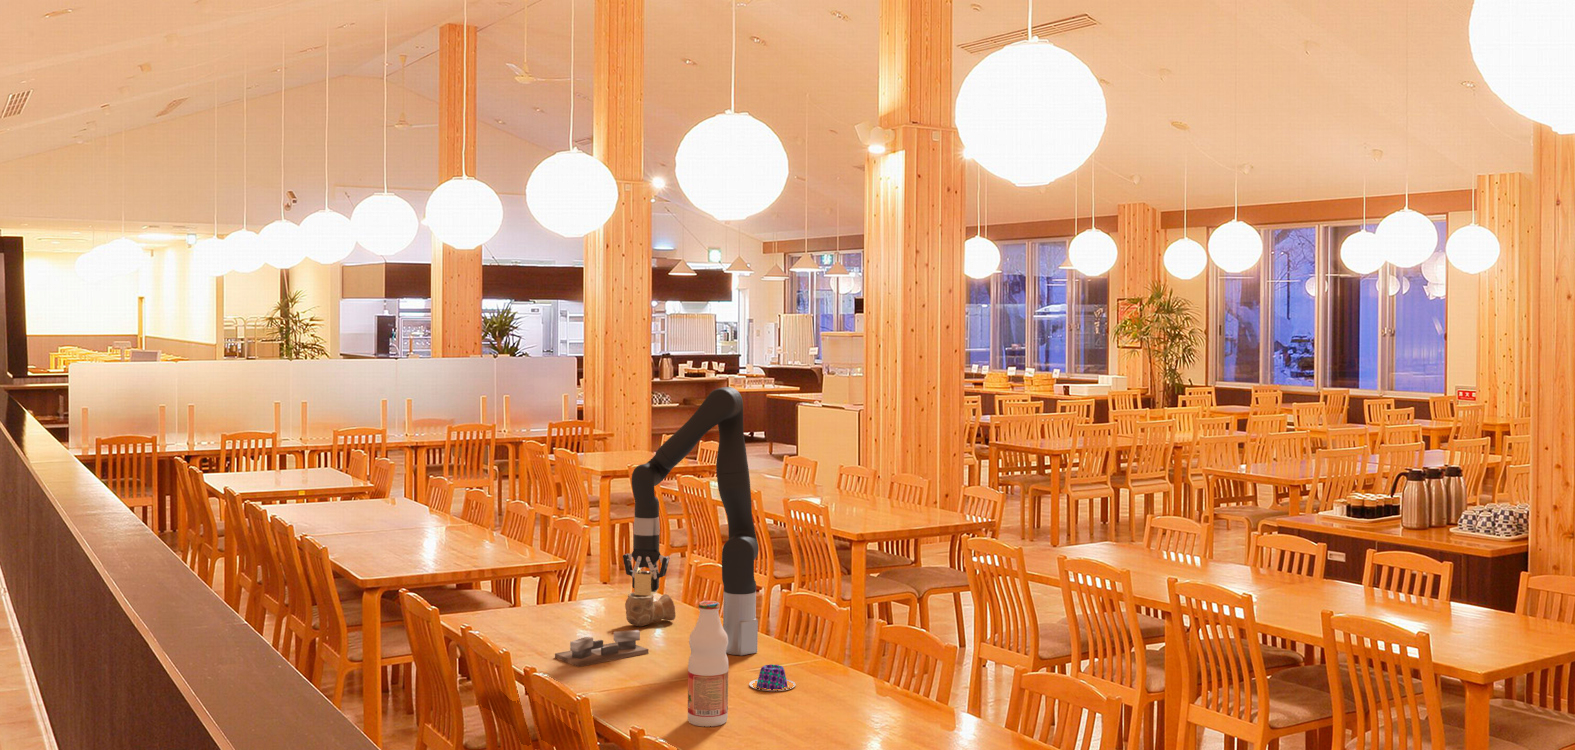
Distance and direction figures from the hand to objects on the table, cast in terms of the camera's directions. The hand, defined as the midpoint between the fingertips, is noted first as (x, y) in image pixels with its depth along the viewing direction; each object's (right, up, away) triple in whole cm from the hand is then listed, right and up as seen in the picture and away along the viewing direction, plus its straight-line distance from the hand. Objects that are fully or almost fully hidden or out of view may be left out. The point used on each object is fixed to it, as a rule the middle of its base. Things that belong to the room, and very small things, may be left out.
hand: (645, 590), depth 369 cm
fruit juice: (+22, -19, -71) cm, 77 cm away
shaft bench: (-11, -16, -13) cm, 23 cm away
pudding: (+37, -18, -41) cm, 58 cm away
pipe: (-1, -15, +24) cm, 28 cm away
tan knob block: (0, -1, 0) cm, 1 cm away
